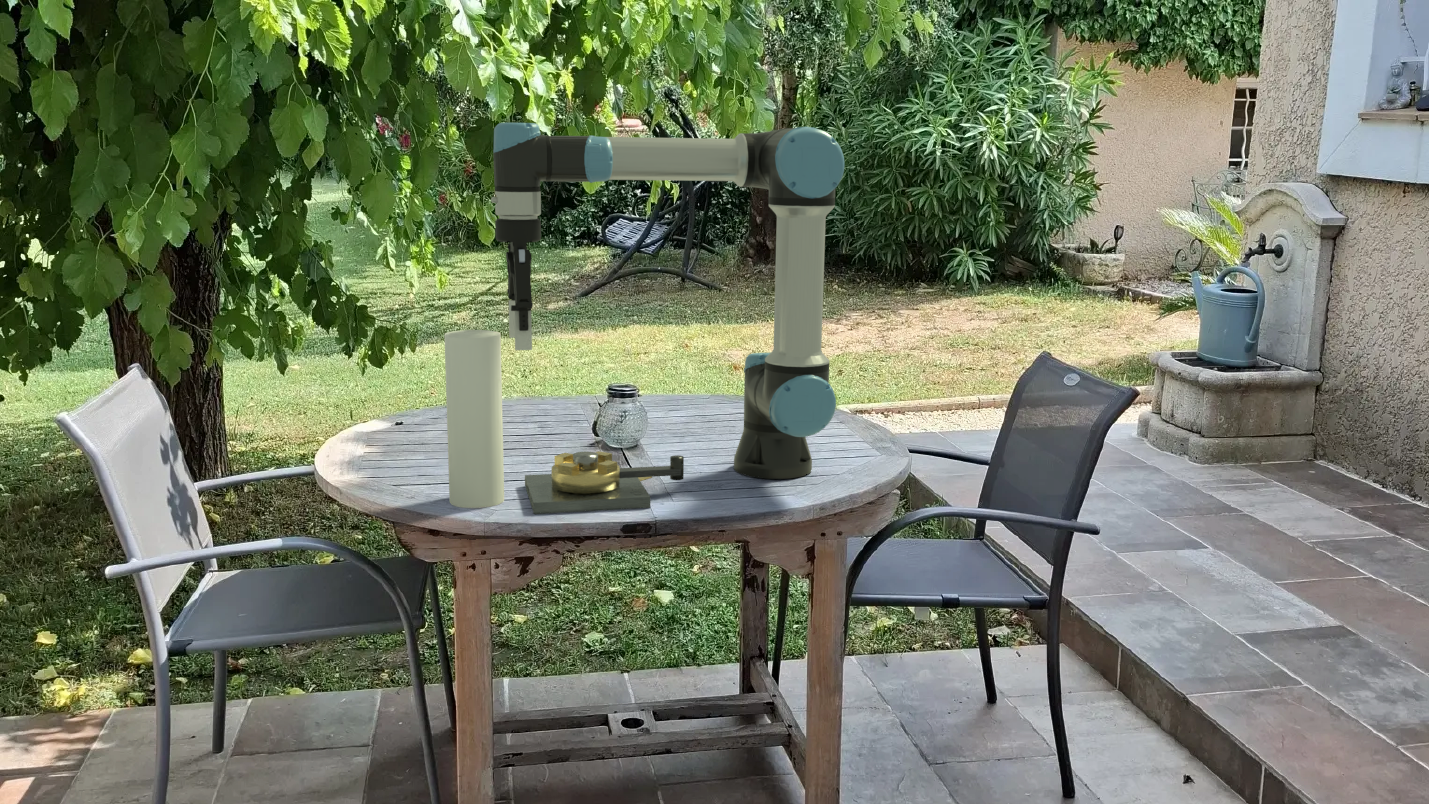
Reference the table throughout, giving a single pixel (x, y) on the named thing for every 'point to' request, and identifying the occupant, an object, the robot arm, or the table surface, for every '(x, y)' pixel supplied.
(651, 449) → the table surface
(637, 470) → the ring nut
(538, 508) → the collar plate
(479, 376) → the cylinder container
